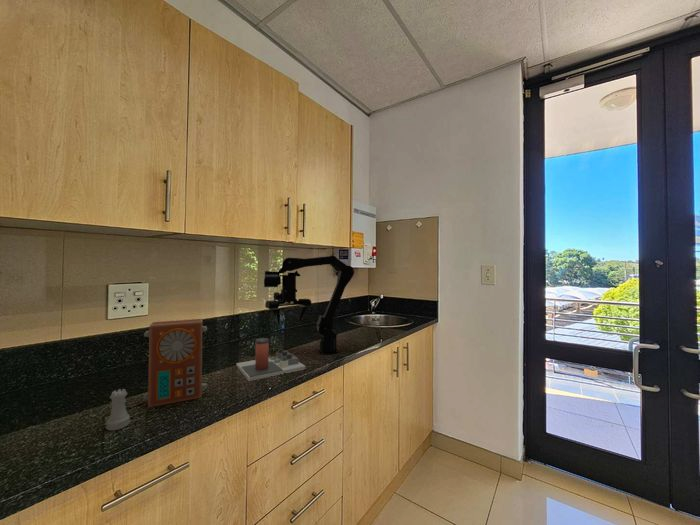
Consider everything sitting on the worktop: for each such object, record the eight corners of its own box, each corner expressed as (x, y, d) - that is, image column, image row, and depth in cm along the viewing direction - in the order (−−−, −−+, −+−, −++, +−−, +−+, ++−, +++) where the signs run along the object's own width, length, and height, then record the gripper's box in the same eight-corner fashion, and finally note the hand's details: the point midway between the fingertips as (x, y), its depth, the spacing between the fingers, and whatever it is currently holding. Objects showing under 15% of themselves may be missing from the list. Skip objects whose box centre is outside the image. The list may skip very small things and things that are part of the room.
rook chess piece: (100, 429, 65) (101, 393, 65) (122, 419, 69) (123, 386, 69) (113, 433, 63) (114, 396, 64) (134, 423, 68) (135, 388, 68)
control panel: (206, 397, 81) (141, 410, 74) (206, 388, 87) (146, 399, 80) (207, 321, 81) (142, 326, 74) (207, 317, 88) (147, 321, 81)
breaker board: (287, 357, 118) (287, 346, 118) (305, 369, 104) (305, 356, 104) (236, 366, 107) (236, 354, 107) (248, 381, 93) (248, 366, 93)
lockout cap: (261, 365, 104) (261, 337, 104) (271, 367, 102) (271, 338, 102) (252, 369, 100) (252, 340, 100) (262, 371, 98) (262, 341, 98)
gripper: (301, 285, 135) (301, 319, 134) (261, 286, 124) (261, 323, 124) (312, 286, 126) (311, 322, 125) (270, 288, 115) (269, 327, 115)
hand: (288, 323), depth 122 cm, fingers open, 9 cm apart
